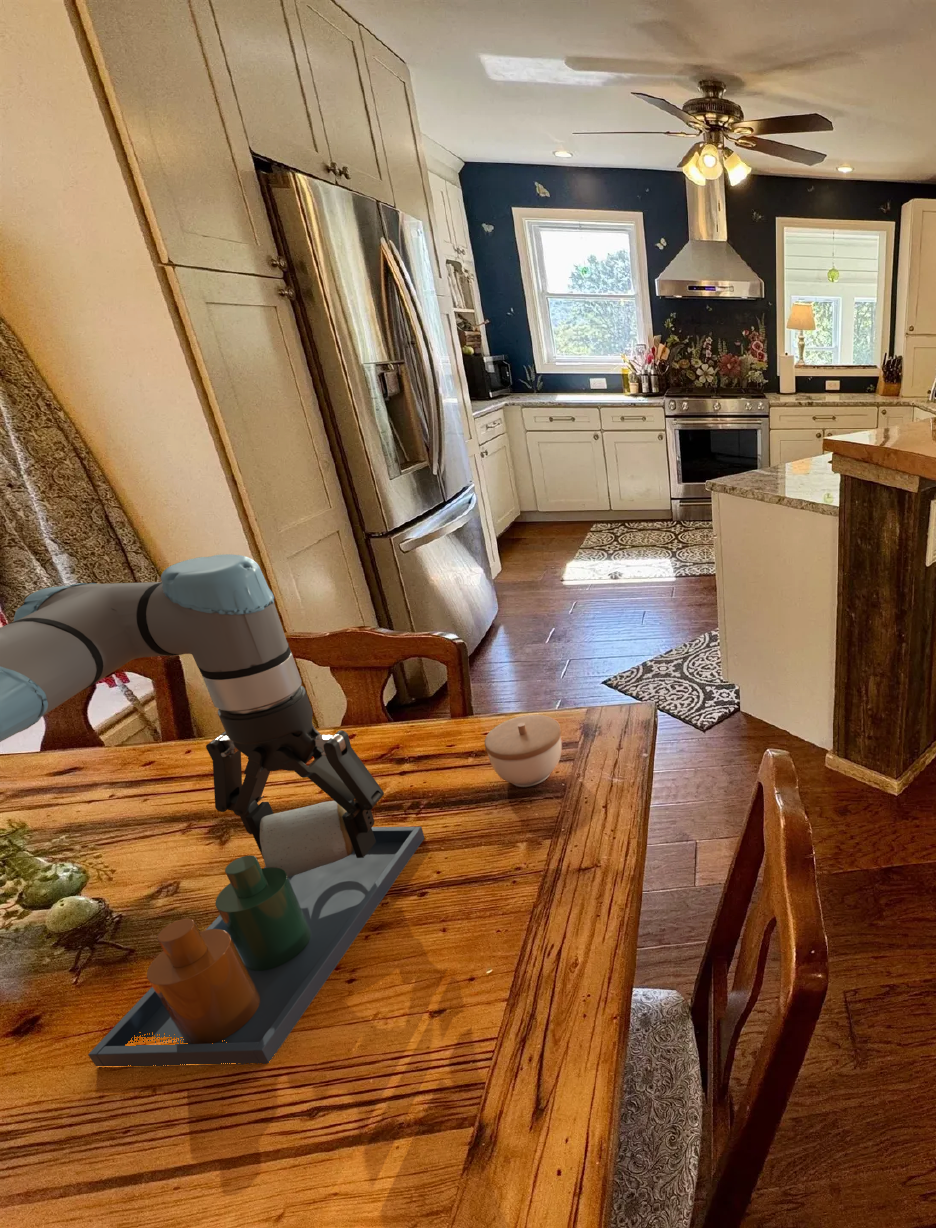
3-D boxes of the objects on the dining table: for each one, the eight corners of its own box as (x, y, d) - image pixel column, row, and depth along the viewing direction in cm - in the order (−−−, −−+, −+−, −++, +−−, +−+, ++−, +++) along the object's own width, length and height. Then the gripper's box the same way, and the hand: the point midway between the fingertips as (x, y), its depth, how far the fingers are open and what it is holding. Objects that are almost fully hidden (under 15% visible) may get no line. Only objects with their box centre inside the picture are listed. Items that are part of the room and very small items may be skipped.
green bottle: (230, 971, 70) (186, 887, 65) (270, 924, 76) (233, 843, 71) (287, 970, 71) (249, 886, 66) (323, 923, 76) (290, 842, 71)
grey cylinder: (360, 865, 79) (344, 815, 76) (275, 896, 74) (253, 844, 71) (355, 815, 87) (339, 768, 84) (277, 840, 82) (258, 791, 79)
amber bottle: (166, 1047, 63) (112, 959, 58) (215, 989, 69) (169, 904, 63) (230, 1045, 64) (182, 957, 58) (274, 987, 69) (233, 903, 64)
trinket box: (579, 774, 103) (571, 724, 99) (511, 807, 96) (500, 755, 92) (547, 745, 110) (539, 697, 106) (482, 774, 102) (470, 724, 98)
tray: (99, 1072, 62) (87, 1055, 61) (307, 842, 88) (301, 827, 87) (270, 1067, 62) (261, 1050, 61) (425, 840, 89) (421, 826, 88)
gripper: (388, 678, 75) (431, 827, 84) (180, 678, 73) (247, 829, 83) (348, 715, 68) (399, 872, 77) (118, 715, 67) (199, 875, 76)
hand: (320, 850), depth 80 cm, fingers closed on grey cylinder, 10 cm apart
